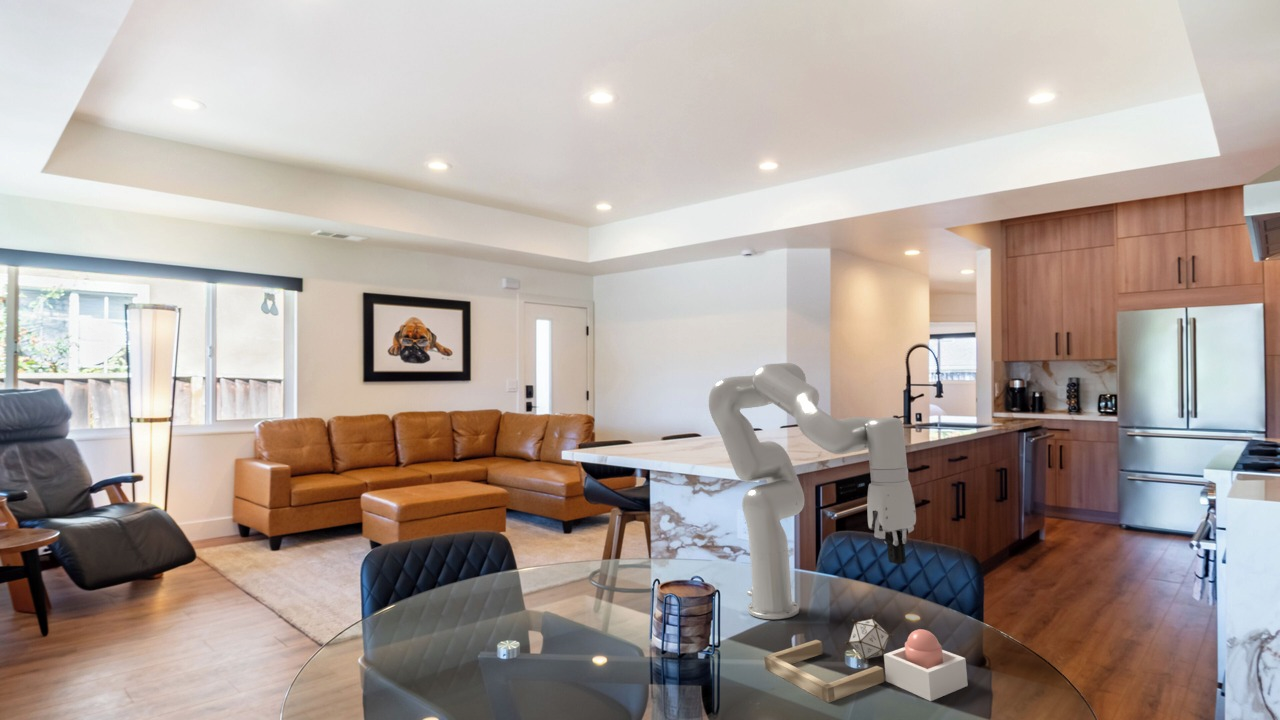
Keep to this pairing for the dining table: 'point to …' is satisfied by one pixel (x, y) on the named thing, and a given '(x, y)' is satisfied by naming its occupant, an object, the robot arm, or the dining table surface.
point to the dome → (923, 649)
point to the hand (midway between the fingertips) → (897, 562)
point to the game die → (868, 638)
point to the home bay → (813, 685)
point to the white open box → (926, 674)
